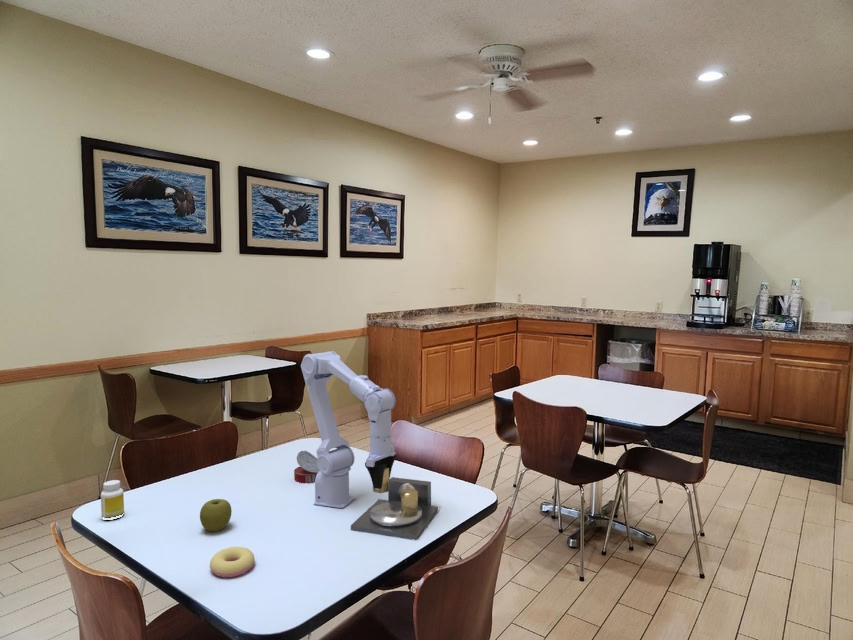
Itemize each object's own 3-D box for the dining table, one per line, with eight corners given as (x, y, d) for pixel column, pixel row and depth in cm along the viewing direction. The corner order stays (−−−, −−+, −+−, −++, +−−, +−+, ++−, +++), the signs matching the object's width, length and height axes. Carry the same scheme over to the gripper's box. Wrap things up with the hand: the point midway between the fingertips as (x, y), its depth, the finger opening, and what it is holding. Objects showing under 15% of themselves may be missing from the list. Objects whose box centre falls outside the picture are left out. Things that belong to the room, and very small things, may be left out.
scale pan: (361, 522, 142) (360, 519, 142) (382, 501, 155) (382, 498, 155) (411, 529, 137) (411, 526, 137) (428, 507, 151) (428, 504, 151)
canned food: (313, 486, 184) (325, 457, 187) (323, 492, 175) (335, 462, 178) (283, 475, 179) (295, 446, 182) (291, 482, 171) (304, 451, 173)
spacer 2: (399, 516, 143) (398, 493, 143) (404, 509, 148) (404, 487, 147) (415, 518, 142) (414, 495, 142) (419, 511, 146) (419, 489, 146)
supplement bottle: (128, 515, 151) (127, 480, 150) (110, 523, 146) (108, 487, 145) (115, 511, 153) (114, 477, 153) (97, 519, 148) (95, 484, 148)
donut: (245, 563, 129) (204, 569, 124) (246, 543, 130) (205, 548, 124) (259, 574, 121) (216, 582, 116) (261, 553, 122) (217, 559, 116)
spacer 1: (370, 492, 145) (370, 470, 145) (376, 486, 150) (375, 464, 149) (386, 493, 144) (385, 471, 144) (391, 487, 149) (391, 466, 148)
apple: (237, 523, 145) (237, 497, 145) (220, 537, 137) (219, 509, 137) (212, 520, 147) (211, 495, 146) (193, 534, 139) (192, 507, 139)
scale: (350, 530, 141) (350, 503, 140) (382, 499, 161) (382, 476, 160) (416, 540, 135) (415, 512, 134) (441, 506, 155) (441, 482, 154)
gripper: (383, 444, 138) (384, 496, 139) (404, 429, 151) (404, 477, 152) (358, 441, 140) (359, 493, 141) (381, 427, 154) (381, 474, 155)
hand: (381, 484), depth 147 cm, fingers closed on spacer 1, 4 cm apart
